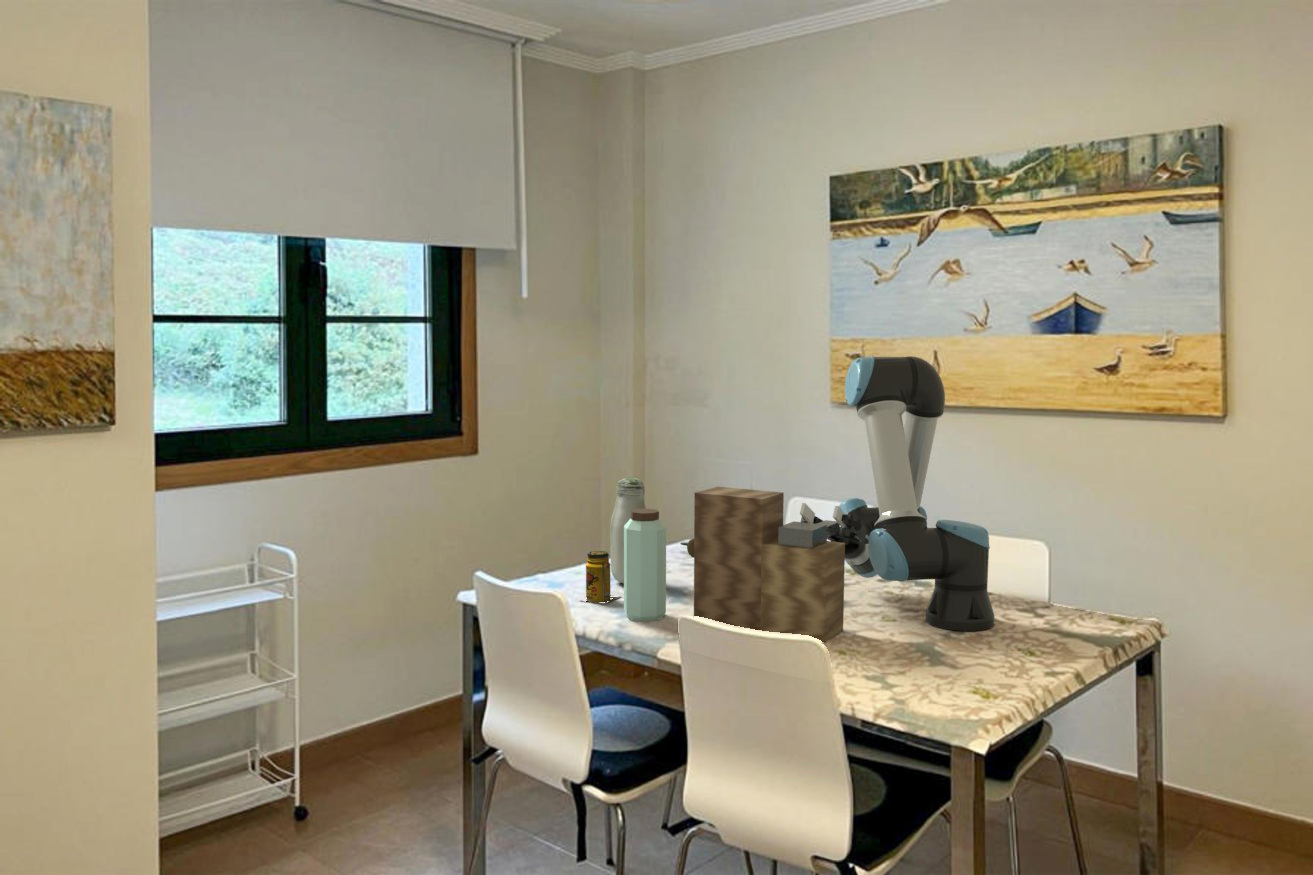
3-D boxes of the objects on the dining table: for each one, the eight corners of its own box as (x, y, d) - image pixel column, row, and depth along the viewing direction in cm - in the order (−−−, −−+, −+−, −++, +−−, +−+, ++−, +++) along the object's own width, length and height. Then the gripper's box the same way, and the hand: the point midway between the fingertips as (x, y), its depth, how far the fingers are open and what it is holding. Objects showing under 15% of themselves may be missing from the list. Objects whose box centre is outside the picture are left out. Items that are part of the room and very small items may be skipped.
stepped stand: (843, 631, 244) (845, 498, 241) (823, 643, 234) (826, 505, 231) (716, 611, 260) (717, 486, 257) (693, 622, 251) (694, 492, 248)
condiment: (579, 601, 270) (578, 553, 268) (596, 594, 277) (596, 547, 276) (604, 605, 266) (604, 556, 265) (621, 597, 274) (621, 550, 272)
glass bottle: (622, 589, 282) (621, 481, 279) (604, 581, 291) (604, 476, 288) (655, 585, 286) (655, 479, 284) (637, 577, 295) (637, 474, 292)
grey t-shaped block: (848, 533, 253) (849, 516, 252) (812, 548, 235) (812, 530, 235) (816, 529, 257) (816, 512, 257) (778, 544, 239) (778, 526, 239)
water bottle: (661, 623, 250) (661, 515, 247) (619, 621, 252) (618, 513, 249) (669, 612, 259) (670, 508, 257) (628, 610, 261) (628, 506, 259)
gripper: (888, 564, 259) (857, 529, 241) (809, 554, 270) (774, 521, 252) (894, 534, 262) (864, 498, 244) (815, 526, 272) (781, 491, 254)
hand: (818, 510), depth 248 cm, fingers open, 7 cm apart
